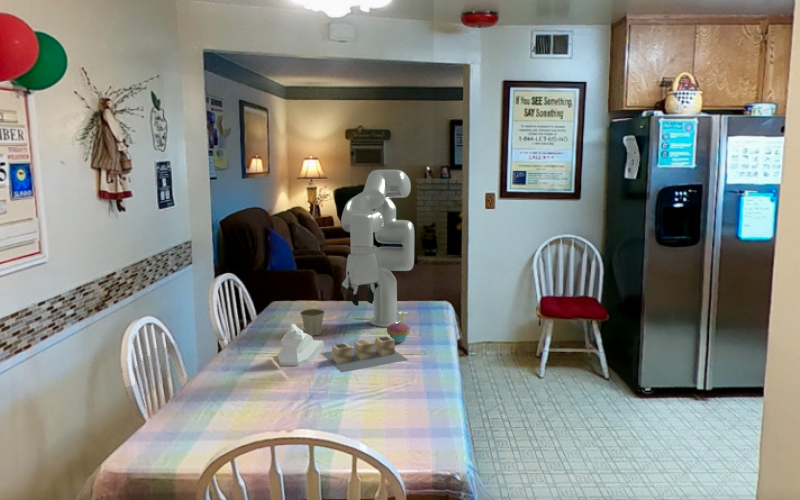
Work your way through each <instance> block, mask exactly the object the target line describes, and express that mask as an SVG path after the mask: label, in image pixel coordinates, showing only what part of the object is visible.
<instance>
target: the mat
mask: <svg viewBox="0 0 800 500" xmlns="http://www.w3.org/2000/svg"><path fill="white" fill-rule="evenodd" d="M373 347H374V358H368V359H363V360H359V359H358V358H357V357H356V356H355V355H354V347H351V349H352V362H346V363H340V364H337V363H336V362H335V361H334V360H333V359H332V350H331V351H325V352H320V354H321V355H322V356H323V357H324V358H326V359H327V361H328V362H330V363H331V364H332V365H333V366H334V367H335V368H336V369H337V370H338V371H339V372H340V373H347V372H352V371H358V370H361V369H362V370H363V369H367V368H368V369H369V368H374V367H378V366H383V365H389V364H393V363H400V362H405V361H409V359H407V357H405V356H403V355H402V354H400V352H398V351H396V350H395V354H391V355H385V356H381V355H379V354H378V353H377V352H376V343H375V344H374V343H373Z"/></svg>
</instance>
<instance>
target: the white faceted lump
mask: <svg viewBox="0 0 800 500" xmlns="http://www.w3.org/2000/svg"><path fill="white" fill-rule="evenodd" d="M280 342H281V343H282V344H281V345H282V347H281V349H280V351H279V352H278V353H277V358H278V362H279V365H280V366H302V365H305V364H308V363H310V362H313V361H315V360H317V359H318V358H319V356H320V354H321V353H322V350H323V348H324V346H325V342H324V340H322V339H321V340H319V339H313V336H310V335H309V334H306V333H305V332H304V331H303V330H302V329H300V328H299V327H298V326H297V325H296V323H291V324H290V325H289V326H288V329H287V331H286V332H285V334H284V335H283V337H282V338H281V340H280Z"/></svg>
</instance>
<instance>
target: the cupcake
mask: <svg viewBox="0 0 800 500" xmlns="http://www.w3.org/2000/svg"><path fill="white" fill-rule="evenodd" d="M402 312H405V310H403V311H402ZM403 315H404V313H402V316H401V318H400V319H401V323H400V322H399V323H393V324H391V325H390V326H388V327H386V333H387V334H388V336H389V337H391V338H392V339H394V340H395V343H403V342H406V339H407V336H408V335H409V334H410V330H411V327H409V326H408V324H406V323H404V322H403V321H404V317H403Z"/></svg>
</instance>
